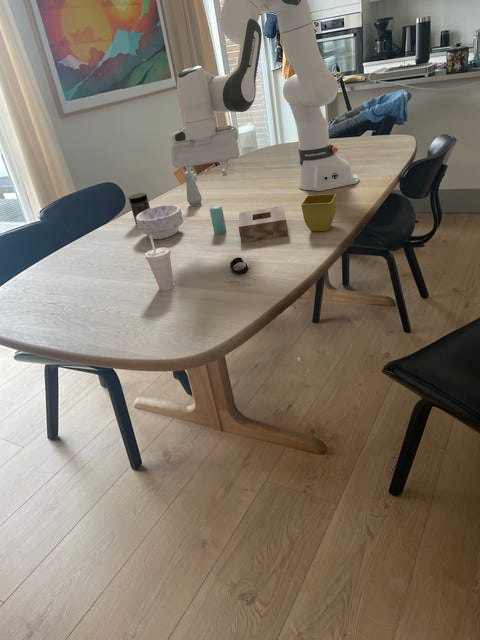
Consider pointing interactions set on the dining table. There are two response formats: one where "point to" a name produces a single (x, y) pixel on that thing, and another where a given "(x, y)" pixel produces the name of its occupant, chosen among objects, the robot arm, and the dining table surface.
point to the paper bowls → (160, 221)
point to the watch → (236, 261)
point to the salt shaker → (192, 191)
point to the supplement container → (138, 203)
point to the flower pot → (319, 211)
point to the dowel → (218, 220)
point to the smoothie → (160, 266)
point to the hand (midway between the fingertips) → (210, 178)
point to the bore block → (262, 224)
